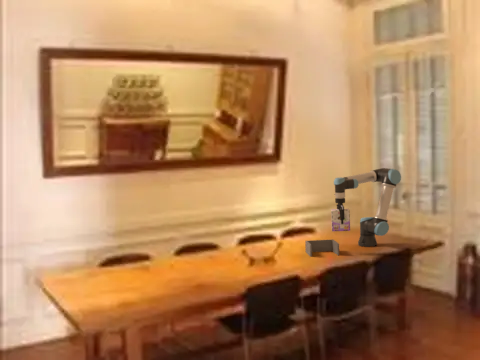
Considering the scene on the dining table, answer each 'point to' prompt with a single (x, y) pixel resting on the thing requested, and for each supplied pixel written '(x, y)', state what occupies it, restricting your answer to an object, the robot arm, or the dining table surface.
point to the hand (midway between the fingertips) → (340, 227)
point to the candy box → (336, 220)
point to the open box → (321, 246)
